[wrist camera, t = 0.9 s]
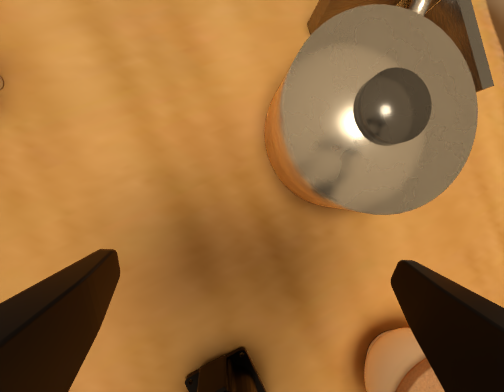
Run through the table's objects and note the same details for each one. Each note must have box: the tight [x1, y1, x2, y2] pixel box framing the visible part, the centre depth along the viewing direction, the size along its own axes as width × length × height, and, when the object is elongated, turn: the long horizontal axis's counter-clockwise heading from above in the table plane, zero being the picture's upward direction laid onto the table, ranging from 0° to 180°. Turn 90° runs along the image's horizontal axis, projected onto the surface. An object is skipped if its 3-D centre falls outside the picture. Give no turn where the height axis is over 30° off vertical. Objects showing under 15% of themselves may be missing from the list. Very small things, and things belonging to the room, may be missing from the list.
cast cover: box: [264, 4, 478, 215], centre depth 21 cm, size 15×15×9 cm
